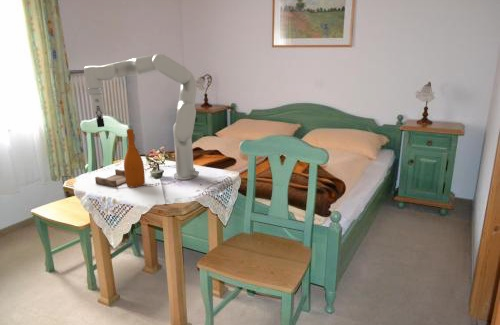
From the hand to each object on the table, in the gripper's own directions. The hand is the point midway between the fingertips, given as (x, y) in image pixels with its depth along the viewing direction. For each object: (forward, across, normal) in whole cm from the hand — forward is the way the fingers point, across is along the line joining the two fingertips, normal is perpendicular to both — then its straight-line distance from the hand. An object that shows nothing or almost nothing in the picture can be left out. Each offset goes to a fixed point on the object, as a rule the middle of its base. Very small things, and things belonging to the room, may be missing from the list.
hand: (100, 125), depth 198 cm
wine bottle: (+32, -8, -13) cm, 36 cm away
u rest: (+32, +2, -3) cm, 32 cm away
